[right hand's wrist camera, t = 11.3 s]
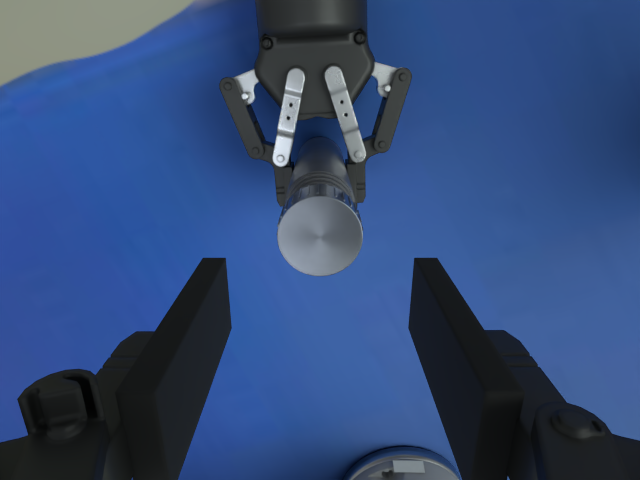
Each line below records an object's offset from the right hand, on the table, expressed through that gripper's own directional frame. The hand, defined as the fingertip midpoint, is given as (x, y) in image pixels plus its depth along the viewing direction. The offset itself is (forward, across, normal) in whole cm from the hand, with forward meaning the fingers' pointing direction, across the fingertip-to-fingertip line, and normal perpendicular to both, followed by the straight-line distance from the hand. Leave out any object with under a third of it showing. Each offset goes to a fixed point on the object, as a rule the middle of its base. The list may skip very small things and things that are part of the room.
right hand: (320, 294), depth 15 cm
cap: (+6, 0, 0) cm, 6 cm away
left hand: (+20, 0, -3) cm, 20 cm away
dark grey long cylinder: (+26, 0, 0) cm, 26 cm away
